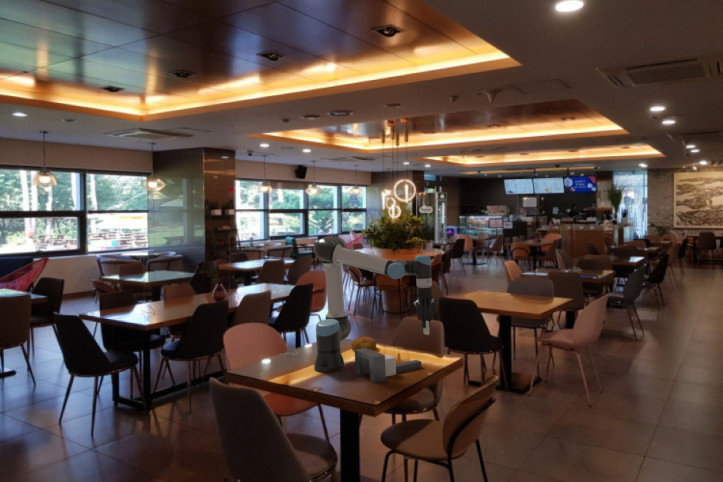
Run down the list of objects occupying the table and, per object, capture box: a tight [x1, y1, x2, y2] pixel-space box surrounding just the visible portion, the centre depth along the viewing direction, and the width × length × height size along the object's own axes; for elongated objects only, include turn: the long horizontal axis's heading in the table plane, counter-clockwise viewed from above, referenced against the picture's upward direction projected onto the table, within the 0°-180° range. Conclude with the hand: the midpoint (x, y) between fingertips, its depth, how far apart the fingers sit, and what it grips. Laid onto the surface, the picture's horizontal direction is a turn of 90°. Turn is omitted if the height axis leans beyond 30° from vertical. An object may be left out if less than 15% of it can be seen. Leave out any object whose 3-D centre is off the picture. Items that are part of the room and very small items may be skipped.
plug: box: [384, 354, 422, 377], centre depth 259 cm, size 7×24×8 cm, turn 120°
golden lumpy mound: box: [350, 335, 377, 351], centre depth 305 cm, size 14×16×8 cm
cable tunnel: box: [354, 348, 387, 384], centre depth 251 cm, size 17×6×12 cm, turn 31°
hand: (426, 334), depth 267 cm, fingers closed
